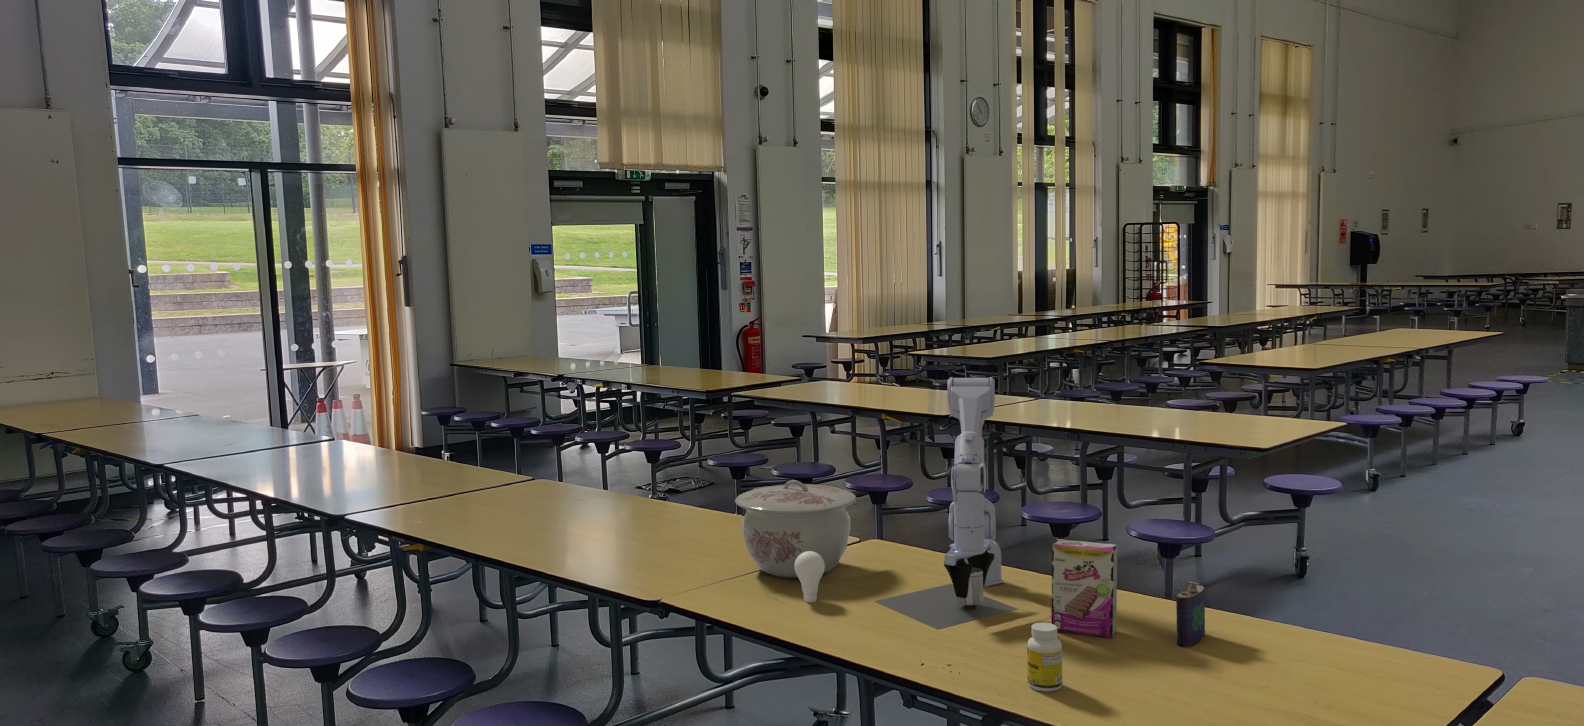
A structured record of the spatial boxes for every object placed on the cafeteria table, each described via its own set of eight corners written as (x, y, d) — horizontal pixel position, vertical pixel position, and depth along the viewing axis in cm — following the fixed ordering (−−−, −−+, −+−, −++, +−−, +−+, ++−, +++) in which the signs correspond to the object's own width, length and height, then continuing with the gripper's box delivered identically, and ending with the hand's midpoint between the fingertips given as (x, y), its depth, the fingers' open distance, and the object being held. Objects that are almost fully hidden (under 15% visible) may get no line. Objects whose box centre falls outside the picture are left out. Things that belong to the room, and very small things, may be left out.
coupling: (964, 594, 204) (963, 565, 204) (988, 599, 200) (987, 569, 200) (950, 601, 200) (949, 571, 200) (974, 606, 196) (973, 575, 196)
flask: (1193, 631, 187) (1194, 573, 186) (1209, 634, 185) (1210, 576, 184) (1173, 645, 180) (1173, 586, 179) (1189, 649, 178) (1190, 589, 177)
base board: (951, 588, 216) (950, 583, 216) (1018, 613, 199) (1018, 608, 199) (873, 605, 206) (873, 601, 206) (937, 634, 189) (937, 629, 188)
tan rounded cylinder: (971, 604, 202) (971, 584, 202) (979, 607, 200) (979, 587, 200) (960, 607, 201) (959, 587, 200) (968, 610, 199) (968, 590, 198)
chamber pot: (861, 587, 218) (859, 491, 217) (732, 589, 219) (729, 494, 217) (854, 551, 246) (853, 466, 245) (740, 554, 247) (738, 469, 245)
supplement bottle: (1023, 680, 167) (1022, 621, 166) (1055, 678, 167) (1055, 619, 166) (1033, 693, 161) (1033, 633, 160) (1067, 691, 162) (1067, 631, 161)
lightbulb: (826, 600, 210) (825, 547, 209) (824, 609, 204) (823, 555, 203) (796, 600, 211) (795, 547, 210) (793, 609, 205) (792, 555, 204)
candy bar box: (1050, 631, 189) (1050, 544, 187) (1055, 623, 193) (1055, 537, 192) (1113, 639, 184) (1114, 550, 182) (1117, 630, 188) (1117, 543, 187)
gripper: (971, 514, 207) (971, 580, 208) (930, 529, 196) (931, 598, 197) (1002, 519, 202) (1002, 587, 203) (962, 534, 191) (963, 605, 193)
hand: (969, 593), depth 200 cm, fingers closed on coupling, 5 cm apart
